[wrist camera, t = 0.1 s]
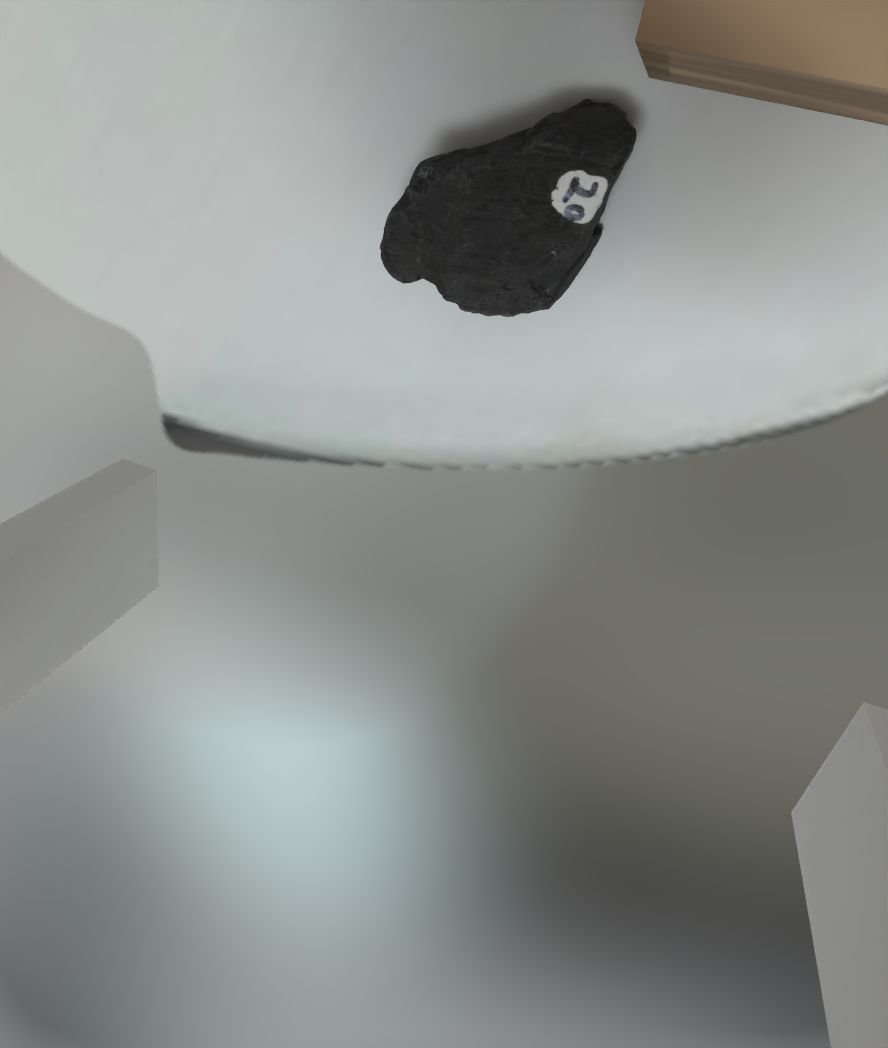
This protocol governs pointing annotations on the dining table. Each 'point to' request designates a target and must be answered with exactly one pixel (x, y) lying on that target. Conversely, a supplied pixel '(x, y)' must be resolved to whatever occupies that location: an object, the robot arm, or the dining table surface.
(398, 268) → the rock
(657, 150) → the dining table surface
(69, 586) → the robot arm
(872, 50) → the open wooden crate
